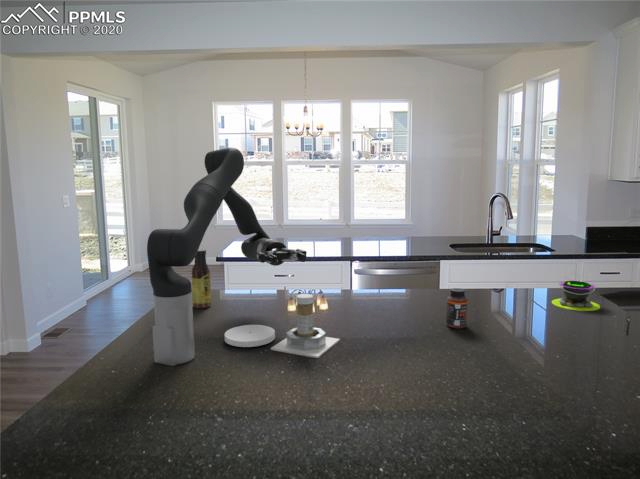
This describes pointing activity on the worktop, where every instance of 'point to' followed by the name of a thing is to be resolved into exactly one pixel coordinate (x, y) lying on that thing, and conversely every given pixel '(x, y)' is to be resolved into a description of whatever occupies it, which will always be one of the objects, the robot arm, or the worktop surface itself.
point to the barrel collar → (306, 340)
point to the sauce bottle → (201, 281)
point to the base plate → (313, 353)
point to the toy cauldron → (576, 296)
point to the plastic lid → (249, 335)
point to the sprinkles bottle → (305, 315)
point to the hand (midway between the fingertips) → (290, 259)
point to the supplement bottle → (456, 309)
